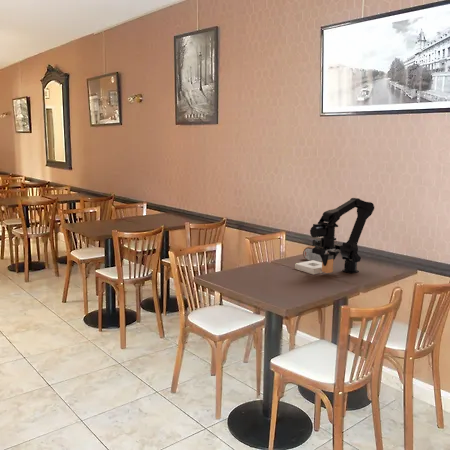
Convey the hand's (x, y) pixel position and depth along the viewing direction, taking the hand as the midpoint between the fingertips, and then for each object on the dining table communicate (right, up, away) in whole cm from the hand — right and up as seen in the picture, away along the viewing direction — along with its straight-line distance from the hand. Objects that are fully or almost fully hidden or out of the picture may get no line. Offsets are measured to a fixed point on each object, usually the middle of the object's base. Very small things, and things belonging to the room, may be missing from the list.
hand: (327, 265), depth 250 cm
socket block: (-5, -3, +12) cm, 13 cm away
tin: (-1, -1, +31) cm, 31 cm away
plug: (0, -3, +1) cm, 4 cm away
